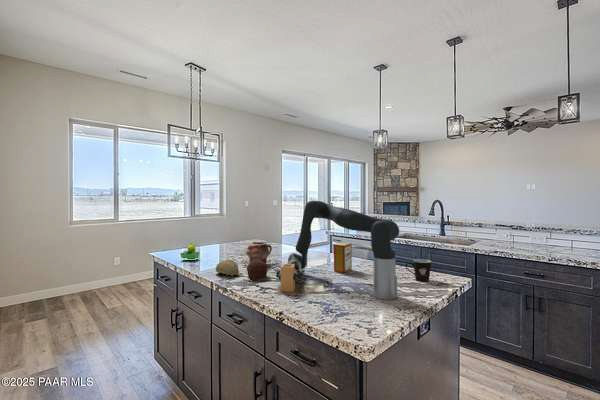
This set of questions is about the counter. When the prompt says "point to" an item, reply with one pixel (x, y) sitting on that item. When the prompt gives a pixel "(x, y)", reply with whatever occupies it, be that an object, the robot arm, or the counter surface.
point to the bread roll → (227, 267)
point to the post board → (304, 289)
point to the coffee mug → (421, 269)
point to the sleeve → (287, 277)
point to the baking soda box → (342, 257)
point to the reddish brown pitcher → (258, 251)
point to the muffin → (257, 270)
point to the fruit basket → (190, 252)
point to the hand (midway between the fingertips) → (287, 277)
